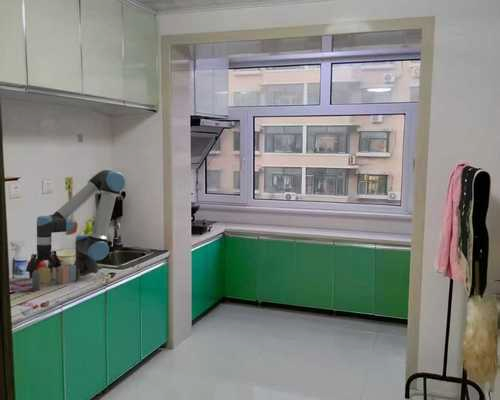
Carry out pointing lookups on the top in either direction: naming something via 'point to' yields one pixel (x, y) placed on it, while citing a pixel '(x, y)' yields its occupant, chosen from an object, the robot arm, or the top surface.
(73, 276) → the book slate
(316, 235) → the top surface
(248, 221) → the top surface
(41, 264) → the mushroom
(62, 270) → the book terracotta
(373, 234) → the top surface
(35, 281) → the bookend
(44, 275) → the book ochre
